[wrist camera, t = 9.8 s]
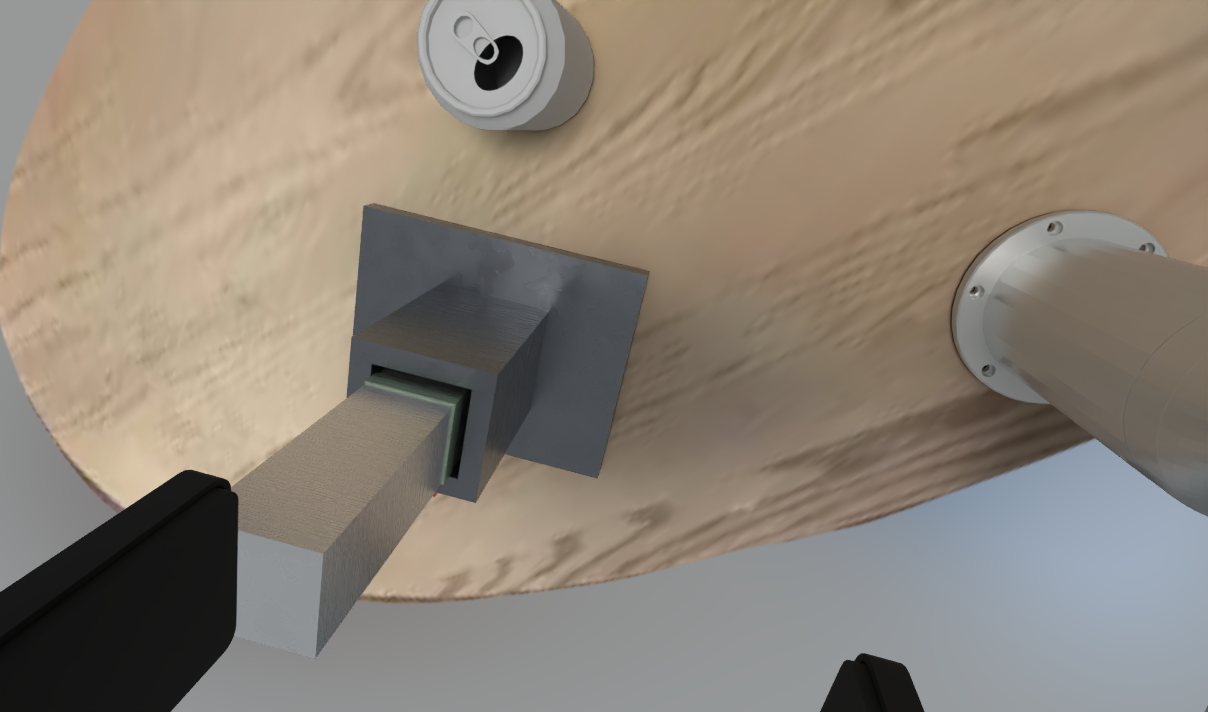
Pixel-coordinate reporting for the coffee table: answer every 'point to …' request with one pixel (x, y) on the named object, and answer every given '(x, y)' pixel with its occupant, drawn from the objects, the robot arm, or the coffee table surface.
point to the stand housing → (497, 337)
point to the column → (340, 506)
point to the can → (505, 62)
